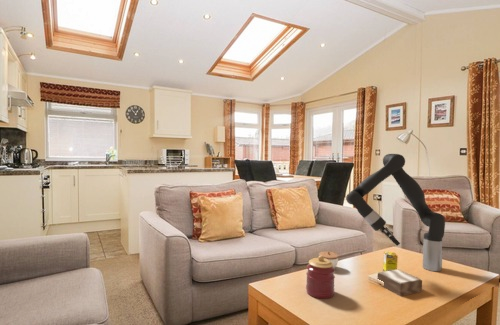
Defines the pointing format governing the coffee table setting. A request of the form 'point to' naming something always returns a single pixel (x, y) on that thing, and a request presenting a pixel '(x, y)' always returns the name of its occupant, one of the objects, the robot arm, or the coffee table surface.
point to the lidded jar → (330, 257)
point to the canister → (320, 278)
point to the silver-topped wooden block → (400, 282)
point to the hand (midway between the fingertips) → (397, 243)
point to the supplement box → (390, 261)
